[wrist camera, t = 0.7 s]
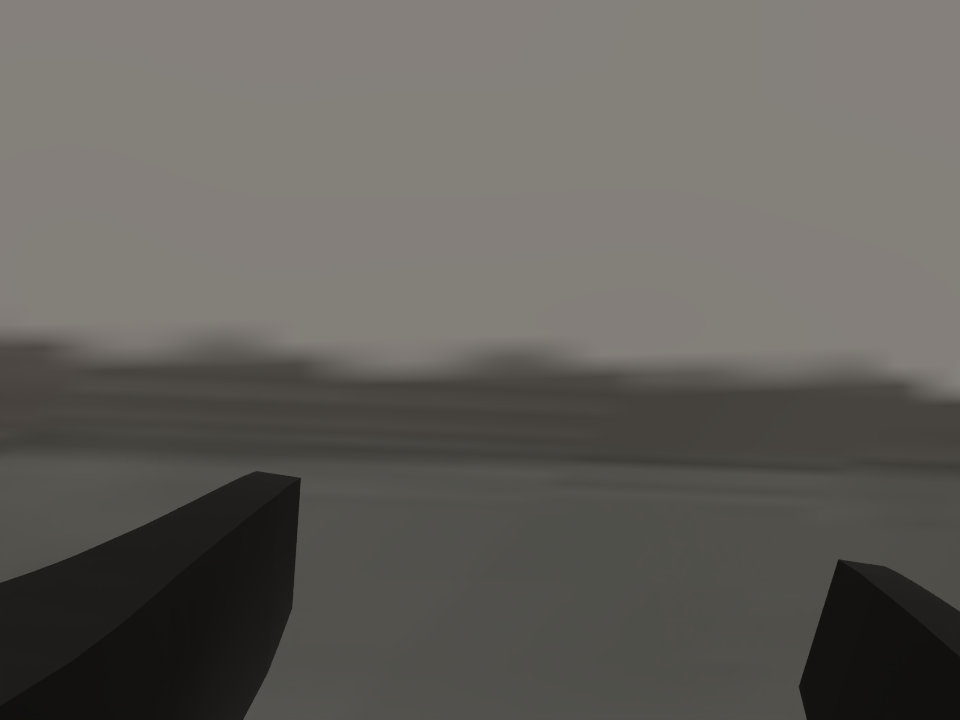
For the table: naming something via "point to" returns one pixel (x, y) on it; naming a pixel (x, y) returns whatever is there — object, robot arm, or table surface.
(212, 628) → the robot arm
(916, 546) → the table surface
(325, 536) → the table surface
